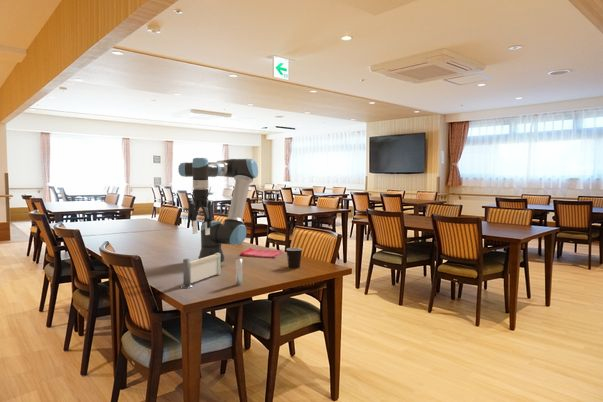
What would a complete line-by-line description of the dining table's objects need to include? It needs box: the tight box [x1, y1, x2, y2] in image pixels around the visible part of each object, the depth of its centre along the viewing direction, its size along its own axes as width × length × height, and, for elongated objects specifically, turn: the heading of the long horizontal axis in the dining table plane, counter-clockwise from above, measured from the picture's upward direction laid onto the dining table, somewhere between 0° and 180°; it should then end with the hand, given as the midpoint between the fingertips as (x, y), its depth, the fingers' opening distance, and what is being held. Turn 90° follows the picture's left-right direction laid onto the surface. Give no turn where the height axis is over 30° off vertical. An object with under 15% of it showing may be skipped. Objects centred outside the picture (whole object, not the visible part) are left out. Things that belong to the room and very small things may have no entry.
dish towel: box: [239, 248, 283, 259], centre depth 253 cm, size 17×24×3 cm
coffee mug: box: [286, 247, 303, 269], centre depth 221 cm, size 12×9×10 cm
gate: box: [182, 253, 222, 286], centre depth 191 cm, size 25×3×12 cm, turn 155°
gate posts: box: [179, 258, 243, 289], centre depth 183 cm, size 28×7×12 cm, turn 105°
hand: (201, 234), depth 200 cm, fingers open, 7 cm apart
